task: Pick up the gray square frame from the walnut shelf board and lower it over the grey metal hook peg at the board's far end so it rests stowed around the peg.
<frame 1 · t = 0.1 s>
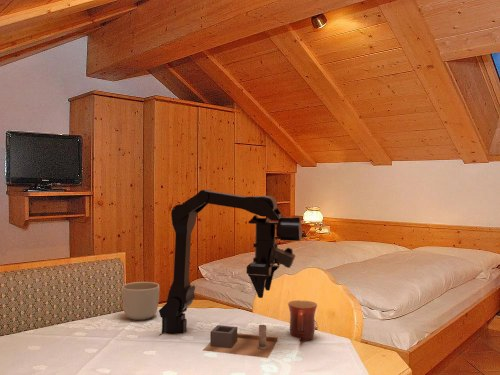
hand: (264, 293, 129), 15 cm above the table, fingers open, 9 cm apart
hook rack: (241, 349, 125), on the table
planter: (140, 318, 153), on the table
mug: (301, 340, 133), on the table
gray square frame: (224, 343, 126), point 1 cm above the table, touching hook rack
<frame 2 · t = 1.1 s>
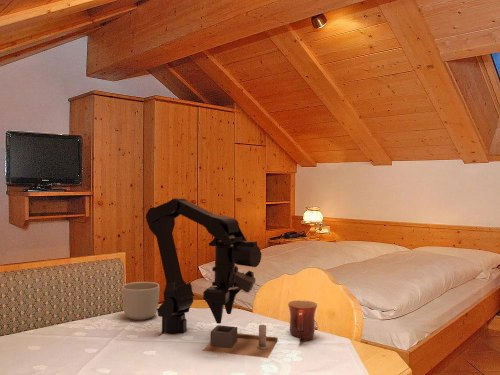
hand: (224, 318, 126), 8 cm above the table, fingers open, 9 cm apart
nothing on the table moved.
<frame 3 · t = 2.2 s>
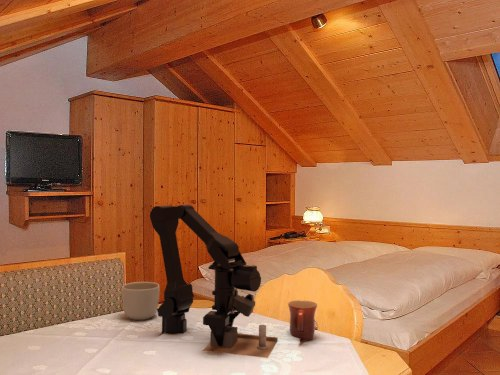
hand: (224, 342, 126), 2 cm above the table, fingers closed on gray square frame, 6 cm apart
gray square frame: (224, 343, 126), point 1 cm above the table, touching gripper, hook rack
everything else where it was.
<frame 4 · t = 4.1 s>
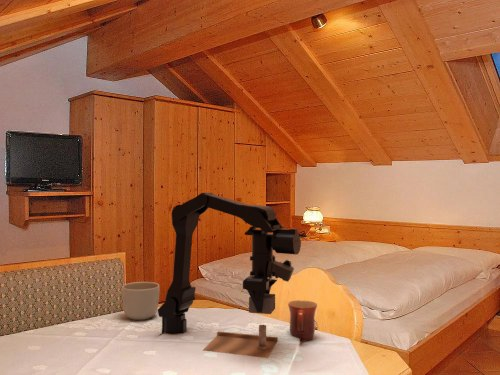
hand: (262, 309, 123), 12 cm above the table, fingers closed on gray square frame, 6 cm apart
gray square frame: (262, 310, 123), point 11 cm above the table, touching gripper
everything else where it was.
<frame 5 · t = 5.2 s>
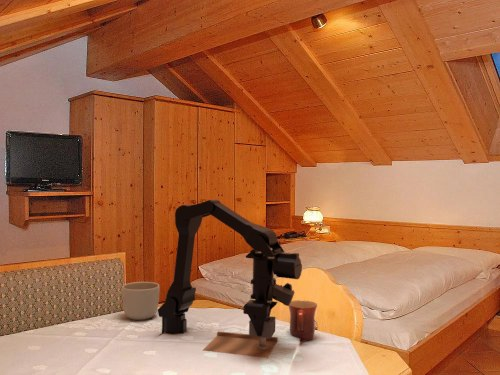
hand: (262, 332, 123), 5 cm above the table, fingers closed on gray square frame, 6 cm apart
gray square frame: (262, 333, 123), point 5 cm above the table, touching gripper
everything else where it was.
when the fingers open (4 cm above the table, at t = 5.9 s): gray square frame drops 3 cm, resting on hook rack.
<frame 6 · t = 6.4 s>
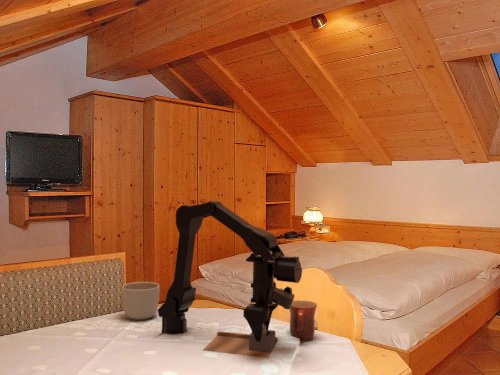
hand: (262, 335, 123), 4 cm above the table, fingers open, 9 cm apart
gray square frame: (262, 347, 123), point 1 cm above the table, touching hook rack
everything else where it was.
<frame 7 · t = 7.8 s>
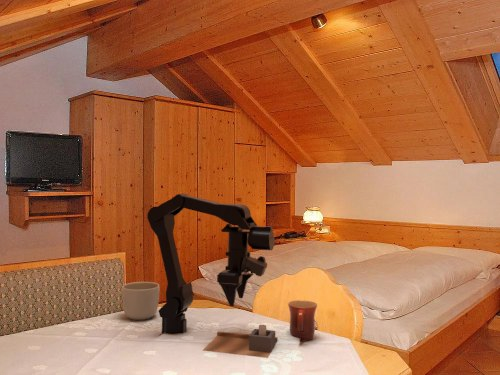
hand: (236, 301, 130), 12 cm above the table, fingers open, 9 cm apart
nothing on the table moved.
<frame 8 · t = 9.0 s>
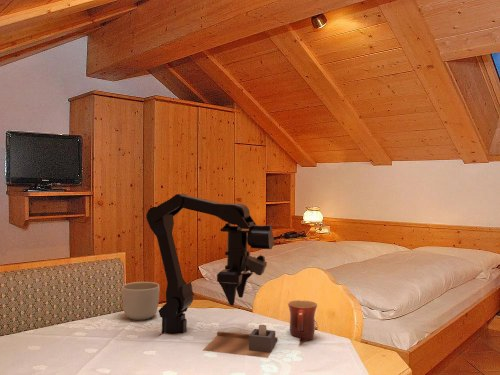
hand: (236, 301, 130), 12 cm above the table, fingers open, 9 cm apart
nothing on the table moved.
at the end: gray square frame 0.0 cm from the target spot, point 1.2 cm above the table; the gripper is holding nothing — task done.
